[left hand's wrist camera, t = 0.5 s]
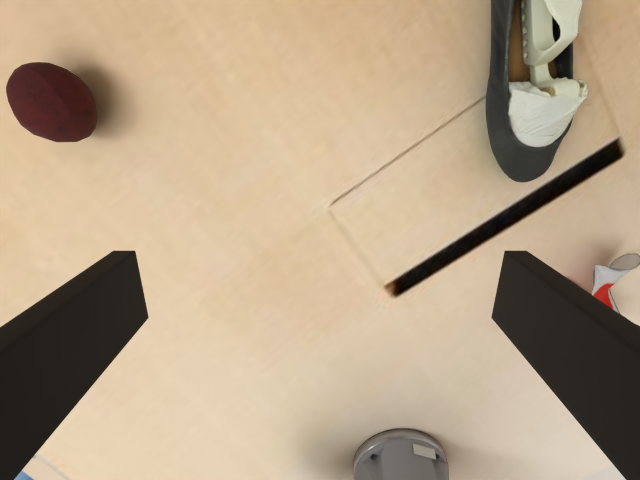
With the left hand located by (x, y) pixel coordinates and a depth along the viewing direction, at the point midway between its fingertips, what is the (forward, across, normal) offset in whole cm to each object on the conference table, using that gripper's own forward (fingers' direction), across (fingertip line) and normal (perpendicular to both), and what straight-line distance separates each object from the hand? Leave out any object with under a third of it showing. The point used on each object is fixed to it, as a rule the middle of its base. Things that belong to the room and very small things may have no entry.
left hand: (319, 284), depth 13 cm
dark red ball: (+30, +27, -6) cm, 41 cm away
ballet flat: (+30, -21, -10) cm, 38 cm away
